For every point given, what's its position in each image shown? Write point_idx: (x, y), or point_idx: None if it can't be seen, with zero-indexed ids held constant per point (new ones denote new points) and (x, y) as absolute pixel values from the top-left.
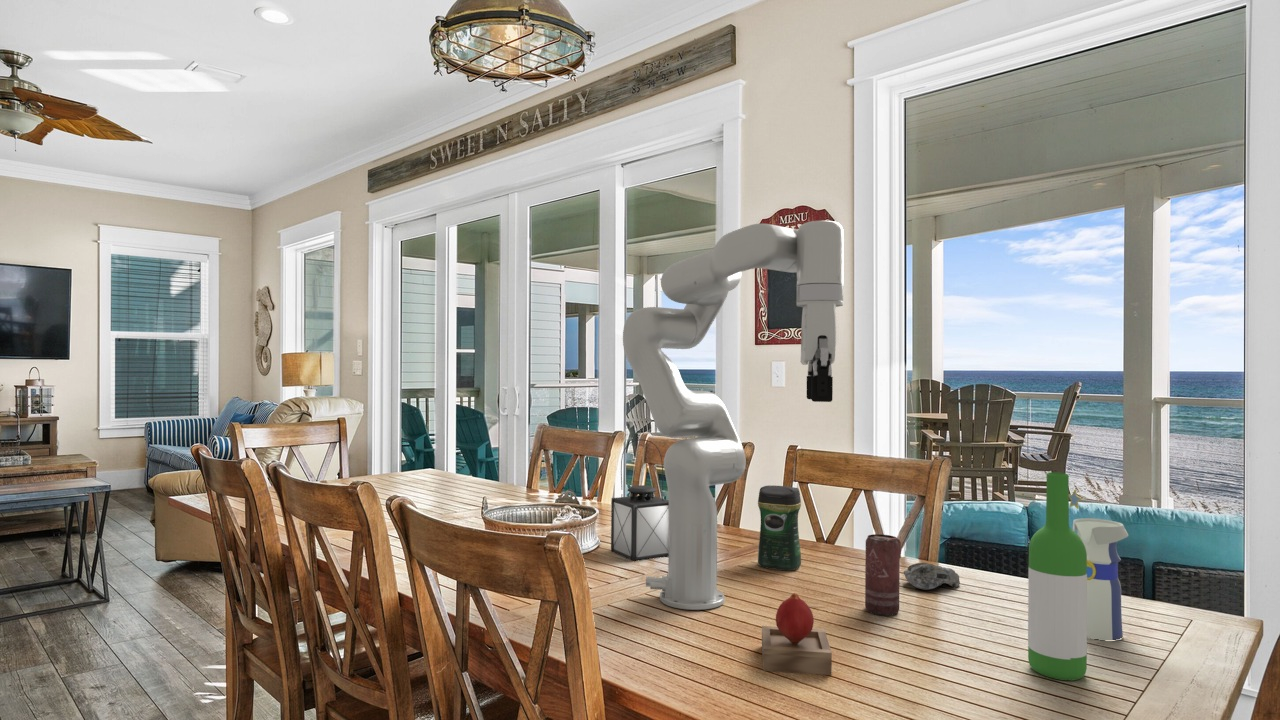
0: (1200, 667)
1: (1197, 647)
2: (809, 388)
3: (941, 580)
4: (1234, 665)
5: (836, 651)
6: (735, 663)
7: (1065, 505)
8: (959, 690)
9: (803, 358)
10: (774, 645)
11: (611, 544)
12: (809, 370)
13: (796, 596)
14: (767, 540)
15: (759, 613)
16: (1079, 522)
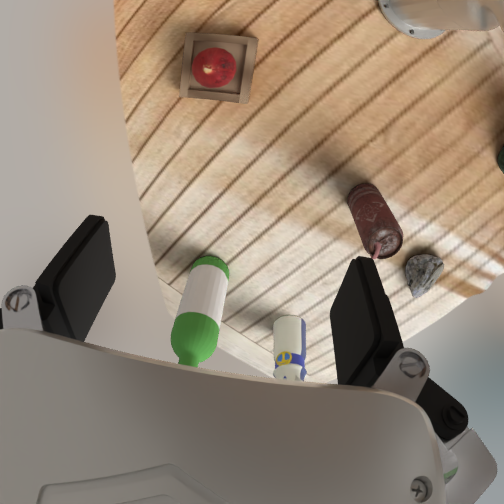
0: (229, 341)
1: (262, 356)
2: (359, 296)
3: (408, 279)
4: (233, 354)
5: (246, 111)
6: (209, 9)
7: None
8: (167, 189)
9: (29, 358)
10: (211, 45)
11: None
12: (379, 378)
13: (203, 70)
14: None
15: (368, 62)
16: None
